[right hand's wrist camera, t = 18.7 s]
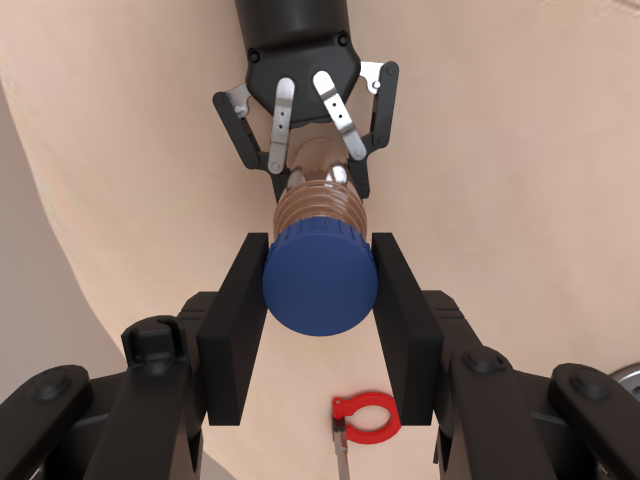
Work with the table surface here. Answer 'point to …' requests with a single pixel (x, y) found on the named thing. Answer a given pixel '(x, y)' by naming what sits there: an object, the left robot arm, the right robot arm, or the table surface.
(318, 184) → the bottle
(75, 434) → the right robot arm
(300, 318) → the cap
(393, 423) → the tow hook
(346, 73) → the left robot arm
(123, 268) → the table surface
